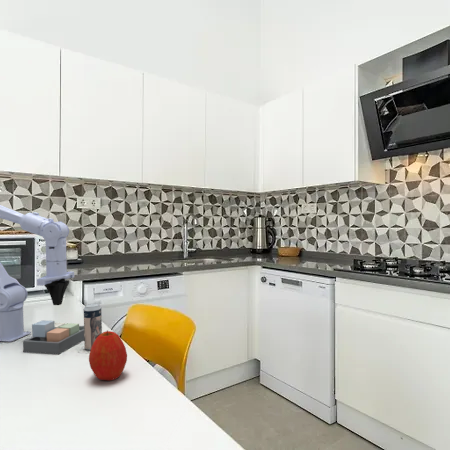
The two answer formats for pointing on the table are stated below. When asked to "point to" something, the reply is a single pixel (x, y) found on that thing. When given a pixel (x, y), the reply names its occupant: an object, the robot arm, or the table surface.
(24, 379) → the table surface
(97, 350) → the apple
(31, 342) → the grey tray
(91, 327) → the beer can
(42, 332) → the pale blue block
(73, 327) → the key sage
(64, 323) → the off-white square block
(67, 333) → the key terracotta
